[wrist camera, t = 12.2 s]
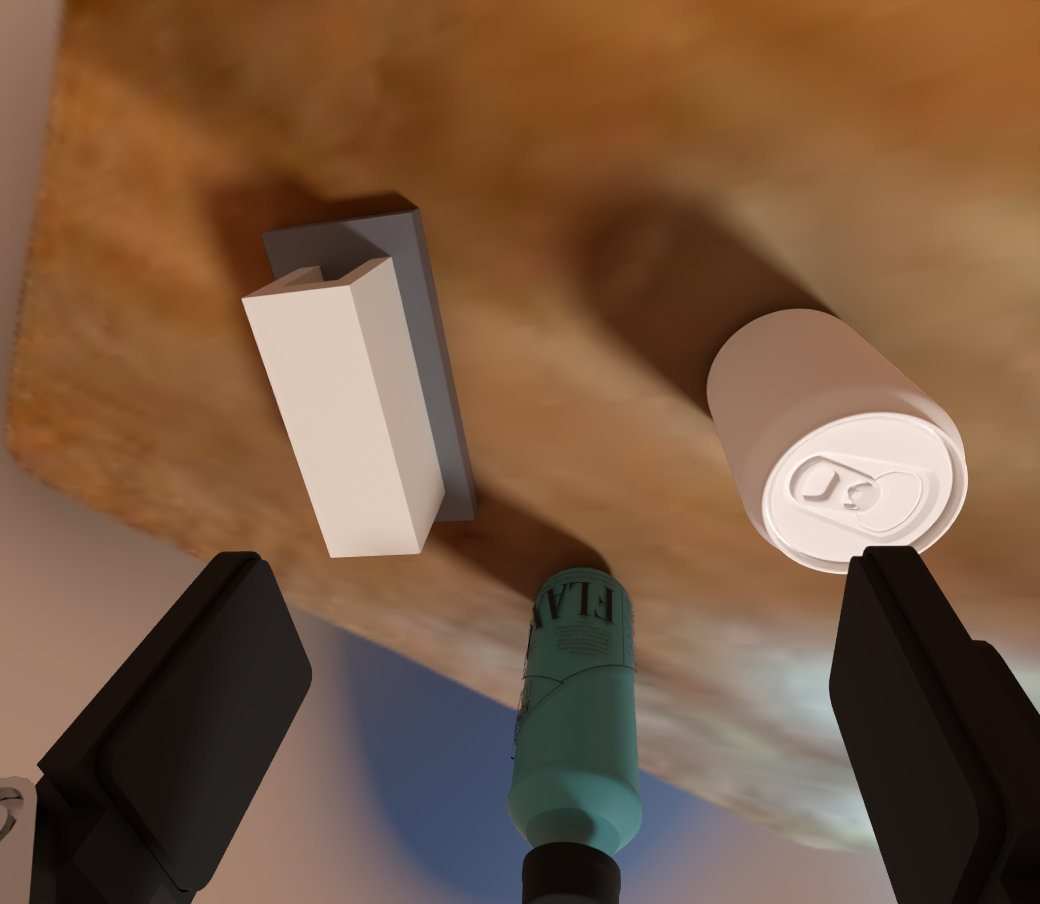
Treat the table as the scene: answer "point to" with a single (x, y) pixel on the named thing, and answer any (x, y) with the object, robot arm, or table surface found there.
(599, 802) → the beverage bottle
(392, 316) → the white rectangular block
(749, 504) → the beverage can
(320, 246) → the header
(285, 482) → the table surface
